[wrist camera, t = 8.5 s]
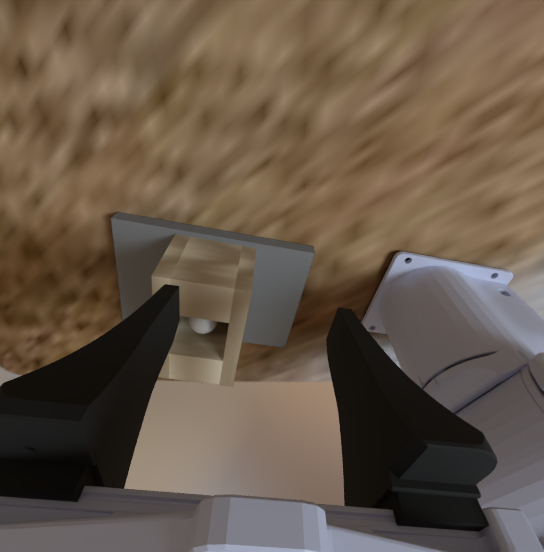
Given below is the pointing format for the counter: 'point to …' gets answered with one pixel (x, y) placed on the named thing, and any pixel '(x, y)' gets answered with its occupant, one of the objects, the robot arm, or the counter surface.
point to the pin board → (269, 253)
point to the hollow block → (207, 306)
